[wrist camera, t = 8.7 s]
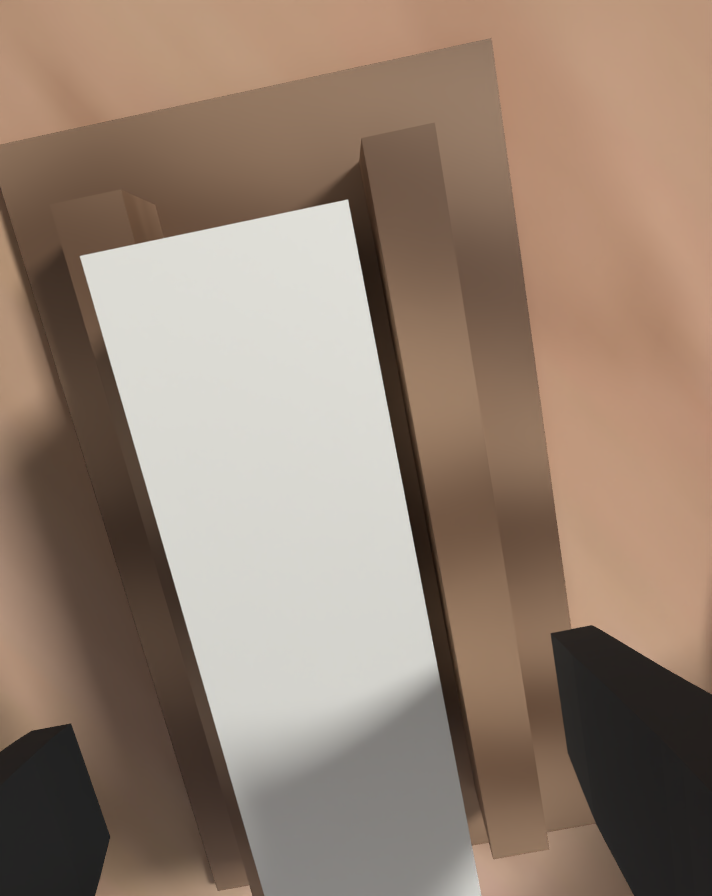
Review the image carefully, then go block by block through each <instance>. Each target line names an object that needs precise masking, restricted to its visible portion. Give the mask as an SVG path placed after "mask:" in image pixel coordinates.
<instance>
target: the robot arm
mask: <svg viewBox="0 0 712 896" xmlns="http://www.w3.org/2000/svg"><path fill="white" fill-rule="evenodd" d="M550 634H551V641H552V648H553V655H554V662H555V668H556V675H557V682H558V689H559V696H560V703H561V710H562V717H563V724H564V731H565V738H566V745H567V752H568V755H569V758H570V760H571V763H572V765H573V768H574V770H575V773H576V776H577V778H578V781H579V783H580V786H581V788H582V791H583V793H584V796H585V798H586V801H587V803H588V806H589V808H590V810H591V813H592V815H593V818H594V820H595V822H596V824H597V826H598V828H599V830H600V832H601V834H602V836H603V838H604V840H605V842H606V843H607V845H608V847H609V849H610V851H611V853H612V855H613V857H614V859H615V860H616V862H617V864H618V866H619V868H620V870H621V872H622V874H623V876H624V877H625V879H626V881H627V883H628V885H629V887H630V889H631V891H632V892H633V894H634V896H712V694H710V693H708V692H706V691H704V690H702V689H701V688H699V687H697V686H695V685H693V684H692V683H690V682H688V681H686V680H685V679H683V678H681V677H679V676H677V675H676V674H674V673H672V672H671V671H669V670H667V669H665V668H664V667H662V666H660V665H659V664H657V663H655V662H654V661H652V660H650V659H648V658H647V657H645V656H643V655H642V654H640V653H638V652H637V651H635V650H633V649H632V648H630V647H628V646H627V645H625V644H623V643H622V642H620V641H618V640H617V639H615V638H613V637H612V636H610V635H608V634H607V633H605V632H603V631H602V630H600V629H598V628H596V627H594V626H592V625H591V626H586V627H580V628H575V629H570V630H565V631H559V632H554V633H550ZM109 839H110V835H109V832H108V829H107V826H106V823H105V820H104V818H103V815H102V812H101V809H100V806H99V803H98V800H97V797H96V794H95V792H94V789H93V786H92V783H91V780H90V777H89V774H88V771H87V768H86V766H85V763H84V760H83V757H82V754H81V751H80V748H79V745H78V742H77V740H76V737H75V734H74V731H73V728H72V725H71V724H66V725H61V726H55V727H50V728H45V729H39V730H34V731H31V732H29V733H28V734H26V735H24V736H23V737H21V738H20V739H18V740H17V741H15V742H14V743H12V744H11V745H9V746H8V747H7V748H5V749H4V750H2V751H1V752H0V896H95V893H96V890H97V886H98V883H99V879H100V876H101V871H102V867H103V863H104V859H105V855H106V851H107V847H108V843H109Z"/></svg>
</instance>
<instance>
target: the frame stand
mask: <svg viewBox="0 0 712 896" xmlns="http://www.w3.org/2000/svg"><path fill="white" fill-rule="evenodd" d="M0 187H1V191H2V194H3V197H4V200H5V204H6V207H7V210H8V213H9V217H10V220H11V223H12V226H13V230H14V233H15V236H16V239H17V243H18V246H19V249H20V252H21V256H22V259H23V262H24V265H25V268H26V272H27V275H28V278H29V281H30V285H31V288H32V291H33V294H34V298H35V301H36V304H37V307H38V311H39V314H40V317H41V320H42V324H43V327H44V330H45V333H46V337H47V340H48V343H49V346H50V349H51V353H52V356H53V359H54V362H55V366H56V369H57V372H58V375H59V379H60V382H61V385H62V388H63V392H64V395H65V398H66V401H67V405H68V408H69V411H70V414H71V418H72V421H73V424H74V427H75V430H76V434H77V437H78V440H79V443H80V447H81V450H82V453H83V456H84V460H85V463H86V466H87V469H88V473H89V476H90V479H91V482H92V486H93V489H94V492H95V495H96V499H97V502H98V505H99V508H100V511H101V515H102V518H103V521H104V524H105V528H106V531H107V534H108V537H109V541H110V544H111V547H112V550H113V554H114V557H115V560H116V563H117V567H118V570H119V573H120V576H121V579H122V583H123V586H124V589H125V592H126V596H127V599H128V602H129V605H130V609H131V612H132V615H133V618H134V622H135V625H136V628H137V631H138V635H139V638H140V641H141V644H142V648H143V651H144V654H145V657H146V660H147V664H148V667H149V670H150V673H151V677H152V680H153V683H154V686H155V690H156V693H157V696H158V699H159V703H160V706H161V709H162V712H163V716H164V719H165V722H166V725H167V729H168V732H169V735H170V738H171V741H172V745H173V748H174V751H175V754H176V758H177V761H178V764H179V767H180V771H181V774H182V777H183V780H184V784H185V787H186V790H187V793H188V797H189V800H190V803H191V806H192V810H193V813H194V816H195V819H196V822H197V826H198V829H199V832H200V835H201V839H202V842H203V845H204V848H205V852H206V855H207V858H208V861H209V865H210V868H211V871H212V874H213V878H214V881H215V884H216V887H217V890H218V891H220V890H226V889H231V888H237V887H242V886H248V885H250V889H251V892H252V896H264V893H263V889H262V886H261V882H260V879H259V875H258V872H257V868H256V865H255V861H254V858H253V855H252V851H251V848H250V844H249V841H248V837H247V834H246V830H245V827H244V823H243V820H242V816H241V813H240V809H239V806H238V803H237V799H236V796H235V792H234V789H233V785H232V782H231V778H230V775H229V771H228V768H227V764H226V761H225V758H224V754H223V751H222V747H221V744H220V740H219V737H218V733H217V730H216V726H215V723H214V719H213V716H212V712H211V709H210V706H209V702H208V699H207V695H206V692H205V688H204V685H203V681H202V678H201V674H200V671H199V667H198V664H197V661H196V657H195V654H194V650H193V647H192V643H191V640H190V636H189V633H188V629H187V626H186V622H185V619H184V615H183V612H182V609H181V605H180V602H179V598H178V595H177V591H176V588H175V584H174V581H173V577H172V574H171V570H170V567H169V564H168V560H167V557H166V553H165V550H164V546H163V543H162V539H161V536H160V532H159V529H158V525H157V522H156V518H155V515H154V512H153V508H152V505H151V501H150V498H149V494H148V491H147V487H146V484H145V480H144V477H143V473H142V470H141V467H140V463H139V460H138V456H137V453H136V449H135V446H134V442H133V439H132V435H131V432H130V428H129V425H128V421H127V418H126V415H125V411H124V408H123V404H122V401H121V397H120V394H119V390H118V387H117V383H116V380H115V376H114V373H113V370H112V366H111V363H110V359H109V356H108V352H107V349H106V345H105V342H104V338H103V335H102V331H101V328H100V324H99V321H98V318H97V314H96V311H95V307H94V304H93V300H92V297H91V293H90V290H89V286H88V283H87V279H86V276H85V273H84V269H83V266H82V262H81V259H80V256H82V255H87V254H92V253H96V252H101V251H106V250H111V249H115V248H120V247H125V246H130V245H134V244H139V243H144V242H149V241H153V240H158V239H163V238H168V237H172V236H177V235H182V234H187V233H191V232H196V231H201V230H206V229H210V228H215V227H220V226H225V225H229V224H234V223H239V222H244V221H248V220H253V219H258V218H263V217H267V216H272V215H277V214H282V213H286V212H291V211H296V210H301V209H305V208H310V207H315V206H320V205H324V204H329V203H334V202H339V201H343V200H348V202H349V208H350V213H351V218H352V223H353V228H354V234H355V239H356V244H357V249H358V255H359V260H360V265H361V270H362V275H363V281H364V286H365V291H366V296H367V302H368V307H369V312H370V317H371V322H372V328H373V333H374V338H375V343H376V349H377V354H378V359H379V364H380V369H381V375H382V380H383V385H384V390H385V395H386V401H387V406H388V411H389V416H390V422H391V427H392V432H393V437H394V442H395V448H396V453H397V458H398V463H399V469H400V474H401V479H402V484H403V489H404V495H405V500H406V505H407V510H408V516H409V521H410V526H411V531H412V536H413V542H414V547H415V552H416V557H417V563H418V568H419V573H420V578H421V583H422V589H423V594H424V599H425V604H426V610H427V615H428V620H429V625H430V630H431V636H432V641H433V646H434V651H435V657H436V662H437V667H438V672H439V677H440V683H441V688H442V693H443V698H444V704H445V709H446V714H447V719H448V724H449V730H450V735H451V740H452V745H453V751H454V756H455V761H456V766H457V771H458V777H459V782H460V787H461V792H462V797H463V803H464V808H465V813H466V818H467V824H468V829H469V834H470V839H471V844H472V845H478V844H483V843H489V844H490V848H491V852H492V856H493V859H498V858H504V857H509V856H515V855H520V854H526V853H532V852H537V851H543V850H549V844H548V837H547V832H551V831H556V830H562V829H568V828H573V827H579V826H584V825H590V824H596V822H595V820H594V818H593V815H592V813H591V810H590V808H589V806H588V803H587V801H586V798H585V796H584V793H583V791H582V788H581V786H580V783H579V781H578V778H577V776H576V773H575V770H574V768H573V765H572V763H571V760H570V758H569V755H568V752H567V745H566V738H565V731H564V724H563V717H562V710H561V703H560V696H559V689H558V682H557V675H556V668H555V662H554V655H553V648H552V641H551V634H550V633H554V632H559V631H565V630H570V629H571V624H570V617H569V609H568V602H567V594H566V587H565V580H564V572H563V565H562V557H561V550H560V543H559V535H558V528H557V520H556V513H555V506H554V498H553V491H552V483H551V476H550V468H549V461H548V454H547V446H546V439H545V431H544V424H543V417H542V409H541V402H540V394H539V387H538V380H537V372H536V365H535V357H534V350H533V343H532V335H531V328H530V320H529V313H528V305H527V298H526V291H525V283H524V276H523V268H522V261H521V254H520V246H519V239H518V231H517V224H516V217H515V209H514V202H513V194H512V187H511V179H510V172H509V165H508V157H507V150H506V142H505V135H504V128H503V120H502V113H501V105H500V98H499V91H498V83H497V76H496V68H495V61H494V54H493V46H492V39H491V38H490V39H485V40H481V41H476V42H472V43H467V44H462V45H458V46H453V47H449V48H444V49H439V50H435V51H430V52H425V53H421V54H416V55H412V56H407V57H402V58H398V59H393V60H389V61H384V62H379V63H375V64H370V65H365V66H361V67H356V68H352V69H347V70H342V71H338V72H333V73H329V74H324V75H319V76H315V77H310V78H305V79H301V80H296V81H292V82H287V83H282V84H278V85H273V86H269V87H264V88H259V89H255V90H250V91H245V92H241V93H236V94H232V95H227V96H222V97H218V98H213V99H209V100H204V101H199V102H195V103H190V104H185V105H181V106H176V107H172V108H167V109H162V110H158V111H153V112H149V113H144V114H139V115H135V116H130V117H125V118H121V119H116V120H112V121H107V122H102V123H98V124H93V125H89V126H84V127H79V128H75V129H70V130H65V131H61V132H56V133H52V134H47V135H42V136H38V137H33V138H29V139H24V140H19V141H15V142H10V143H5V144H1V145H0Z"/></svg>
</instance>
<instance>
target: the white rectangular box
mask: <svg viewBox="0 0 712 896" xmlns="http://www.w3.org/2000/svg"><path fill="white" fill-rule="evenodd" d="M80 259H81V262H82V266H83V269H84V273H85V276H86V279H87V283H88V286H89V290H90V293H91V297H92V300H93V304H94V307H95V311H96V314H97V318H98V321H99V324H100V328H101V331H102V335H103V338H104V342H105V345H106V349H107V352H108V356H109V359H110V363H111V366H112V370H113V373H114V376H115V380H116V383H117V387H118V390H119V394H120V397H121V401H122V404H123V408H124V411H125V415H126V418H127V421H128V425H129V428H130V432H131V435H132V439H133V442H134V446H135V449H136V453H137V456H138V460H139V463H140V467H141V470H142V473H143V477H144V480H145V484H146V487H147V491H148V494H149V498H150V501H151V505H152V508H153V512H154V515H155V518H156V522H157V525H158V529H159V532H160V536H161V539H162V543H163V546H164V550H165V553H166V557H167V560H168V564H169V567H170V570H171V574H172V577H173V581H174V584H175V588H176V591H177V595H178V598H179V602H180V605H181V609H182V612H183V615H184V619H185V622H186V626H187V629H188V633H189V636H190V640H191V643H192V647H193V650H194V654H195V657H196V661H197V664H198V667H199V671H200V674H201V678H202V681H203V685H204V688H205V692H206V695H207V699H208V702H209V706H210V709H211V712H212V716H213V719H214V723H215V726H216V730H217V733H218V737H219V740H220V744H221V747H222V751H223V754H224V758H225V761H226V764H227V768H228V771H229V775H230V778H231V782H232V785H233V789H234V792H235V796H236V799H237V803H238V806H239V809H240V813H241V816H242V820H243V823H244V827H245V830H246V834H247V837H248V841H249V844H250V848H251V851H252V855H253V858H254V861H255V865H256V868H257V872H258V875H259V879H260V882H261V886H262V889H263V893H264V896H481V891H480V886H479V881H478V876H477V871H476V865H475V860H474V855H473V850H472V844H471V839H470V834H469V829H468V824H467V818H466V813H465V808H464V803H463V797H462V792H461V787H460V782H459V777H458V771H457V766H456V761H455V756H454V751H453V745H452V740H451V735H450V730H449V724H448V719H447V714H446V709H445V704H444V698H443V693H442V688H441V683H440V677H439V672H438V667H437V662H436V657H435V651H434V646H433V641H432V636H431V630H430V625H429V620H428V615H427V610H426V604H425V599H424V594H423V589H422V583H421V578H420V573H419V568H418V563H417V557H416V552H415V547H414V542H413V536H412V531H411V526H410V521H409V516H408V510H407V505H406V500H405V495H404V489H403V484H402V479H401V474H400V469H399V463H398V458H397V453H396V448H395V442H394V437H393V432H392V427H391V422H390V416H389V411H388V406H387V401H386V395H385V390H384V385H383V380H382V375H381V369H380V364H379V359H378V354H377V349H376V343H375V338H374V333H373V328H372V322H371V317H370V312H369V307H368V302H367V296H366V291H365V286H364V281H363V275H362V270H361V265H360V260H359V255H358V249H357V244H356V239H355V234H354V228H353V223H352V218H351V213H350V208H349V202H348V200H343V201H339V202H334V203H329V204H324V205H320V206H315V207H310V208H305V209H301V210H296V211H291V212H286V213H282V214H277V215H272V216H267V217H263V218H258V219H253V220H248V221H244V222H239V223H234V224H229V225H225V226H220V227H215V228H210V229H206V230H201V231H196V232H191V233H187V234H182V235H177V236H172V237H168V238H163V239H158V240H153V241H149V242H144V243H139V244H134V245H130V246H125V247H120V248H115V249H111V250H106V251H101V252H96V253H92V254H87V255H82V256H80Z"/></svg>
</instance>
